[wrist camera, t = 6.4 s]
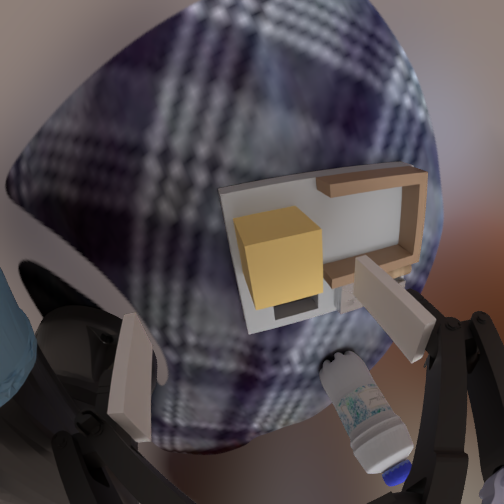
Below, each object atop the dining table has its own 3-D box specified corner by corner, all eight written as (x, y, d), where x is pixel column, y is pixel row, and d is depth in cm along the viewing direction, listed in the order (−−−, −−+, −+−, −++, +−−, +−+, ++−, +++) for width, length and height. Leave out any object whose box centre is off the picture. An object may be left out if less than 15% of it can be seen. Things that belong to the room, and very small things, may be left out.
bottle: (366, 349, 36) (438, 459, 18) (338, 380, 38) (395, 488, 20) (334, 341, 33) (412, 473, 16) (304, 375, 35) (362, 502, 18)
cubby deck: (245, 321, 29) (254, 352, 25) (217, 188, 22) (223, 204, 18) (392, 278, 31) (414, 299, 27) (400, 161, 24) (431, 171, 20)
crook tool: (334, 305, 27) (340, 314, 26) (334, 274, 26) (341, 283, 24) (395, 284, 28) (403, 292, 27) (400, 255, 27) (408, 262, 25)
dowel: (364, 281, 27) (372, 289, 26) (365, 267, 26) (374, 275, 25) (401, 269, 28) (410, 276, 26) (403, 256, 27) (412, 263, 25)
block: (243, 273, 24) (255, 310, 19) (232, 218, 21) (244, 246, 17) (299, 260, 24) (323, 292, 20) (295, 205, 22) (321, 229, 17)
